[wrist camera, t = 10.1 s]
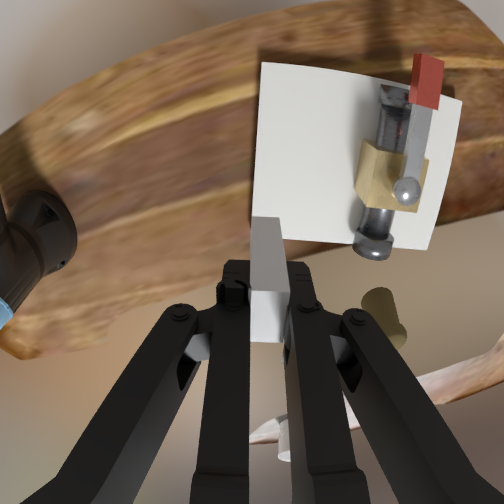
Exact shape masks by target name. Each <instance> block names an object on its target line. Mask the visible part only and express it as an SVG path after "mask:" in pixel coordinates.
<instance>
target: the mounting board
mask: <svg viewBox="0 0 504 504" xmlns="http://www.w3.org/2000/svg"><path fill="white" fill-rule="evenodd" d="M380 84H384V85H390V86H395V87H399V88H404V89H408V90H410V86H409V85H405V84H401V83H397V82H393V81H389V80H384V79H380V78H375V77H370V76H366V75H360V74H355V73H350V72H344V71H338V70H331V69H325V68H317V67H310V66H301V65H292V64H281V63H269V62H262V68H261V83H260V98H259V113H258V128H257V143H256V159H255V174H254V190H253V205H252V216H260V217H279V219H280V225H281V232H282V238H283V239H295V240H308V241H321V242H334V243H347V244H353V240H354V236H355V231H356V229H357V228H358V227H359V226H360V222H361V217H362V212H363V208H364V203H363V201H362V200H361V198H360V197H359V195H358V194H357V193H356V191H355V190H354V184H355V178H356V173H357V167H358V161H359V154H360V148H361V141H362V139H366V140H372V141H376V136H377V129H378V123H379V116H380V108H381V103H378V99H379V90H380ZM461 106H462V101H459V100H456V99H453V98H450V97H447V96H444V95H441V94H440V101H439V108H438V110H434V109H433V113H432V119H431V125H430V131H429V136H428V141H427V146H426V151H425V156H424V157H426V158H427V159H429V165H428V170H427V174H426V179H425V183H424V187H423V191H422V195H421V199H420V203H419V207H418V211H417V213H412V212H404V211H395V215H394V219H393V223H392V226H391V230H390V234H391V235H392V236H393V237H394V242H393V246H392V247H396V248H408V249H419V250H427V247H428V244H429V241H430V238H431V235H432V232H433V229H434V225H435V222H436V219H437V215H438V212H439V208H440V205H441V201H442V197H443V193H444V190H445V186H446V182H447V178H448V173H449V169H450V165H451V160H452V156H453V151H454V146H455V141H456V136H457V130H458V124H459V118H460V112H461Z"/></svg>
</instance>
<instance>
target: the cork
mask: <svg viewBox="0 0 504 504" xmlns="http://www.w3.org/2000/svg"><path fill="white" fill-rule="evenodd" d="M361 306H362V309H363V310H365V311H367V312H368V313H370V314H371V315H372V316H373V318H374V319H375V321H376V322H377V323H378V325H379V326H380V327H381V329H382V330H383V332H384V333H385V334H386V336H387V337H388V339H389V340H390V341H391V343H392V344H393V346H394V347H395V348H396V350H399V349H401V348H402V346H404V344H405V342H406V339H407V333H406V330H405V328H404V327H403V325H402V324H400V323H399V319H398V315H397V311H396V307H395V303H394V299H393V295H392V293H391V291H390V290H389V289H387V288H383V287H378V288H374V289H372V290H370V291H369V292H367V293H366V294H365V295H364V296H363V299H362V302H361Z"/></svg>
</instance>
